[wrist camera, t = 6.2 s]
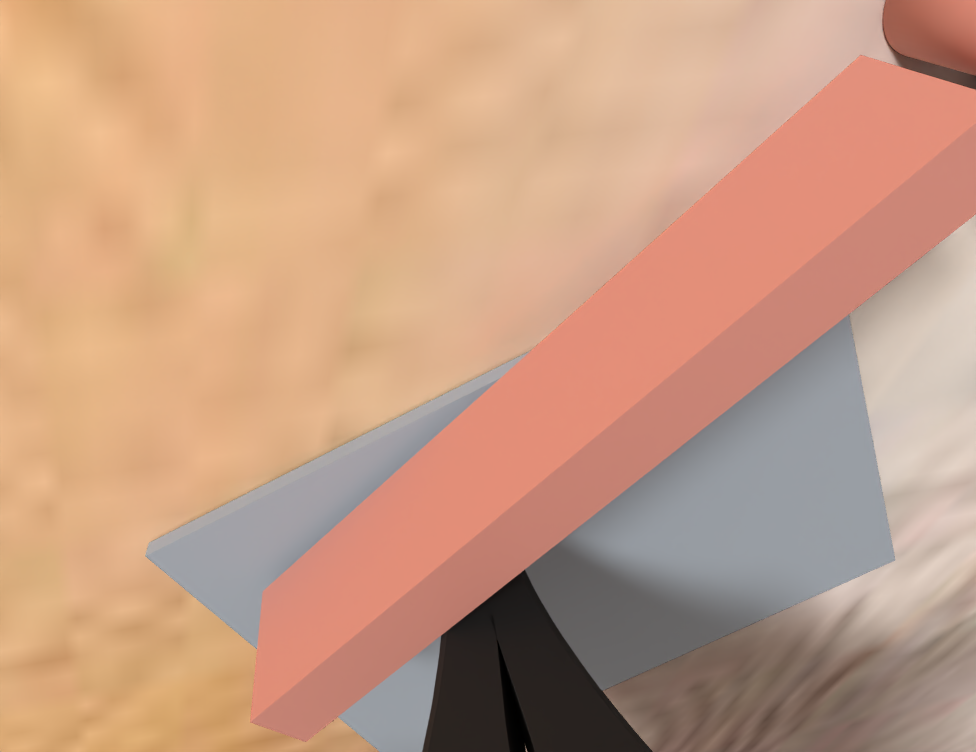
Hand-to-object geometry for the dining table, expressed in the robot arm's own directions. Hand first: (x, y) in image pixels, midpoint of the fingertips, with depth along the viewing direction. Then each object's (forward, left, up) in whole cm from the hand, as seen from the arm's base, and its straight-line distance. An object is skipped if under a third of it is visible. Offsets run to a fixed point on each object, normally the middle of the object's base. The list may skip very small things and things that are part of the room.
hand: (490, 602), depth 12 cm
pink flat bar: (-3, -3, -2) cm, 5 cm away
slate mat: (-1, +1, -2) cm, 3 cm away
